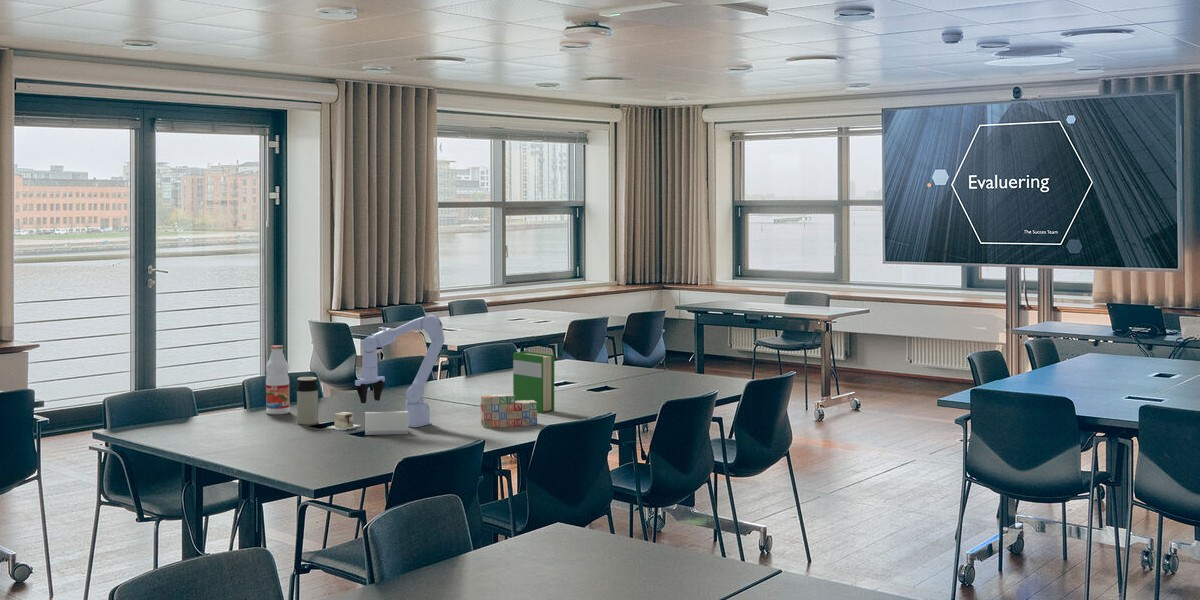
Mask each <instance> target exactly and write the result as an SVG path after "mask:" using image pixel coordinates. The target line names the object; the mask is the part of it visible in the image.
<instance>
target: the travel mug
mask: <svg viewBox="0 0 1200 600" xmlns="http://www.w3.org/2000/svg"><path fill="white" fill-rule="evenodd" d="M317 380H318V378H317V377H315V376H300V377H298V378H297V381H298V384H297V385H296V406H297V407H296V409H297V414H296V415H297V417H296V419H297V424H299V425H301V426H309V425H316V424H318V423H319V386H318V384H317Z"/></svg>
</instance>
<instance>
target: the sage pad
mask: <svg viewBox="0 0 1200 600" xmlns="http://www.w3.org/2000/svg"><path fill="white" fill-rule="evenodd" d="M356 427H357V428H361V427H362V426H361V424H355V423H353V426H350V427H345V428H341V427H335V426H334V425H331V426H330V425H329V426H327V427H326V429H328V430H333V429H335V431H340V430H341V432H342V431H346V430H347V429H348V430H352V429H356Z"/></svg>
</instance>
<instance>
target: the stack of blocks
mask: <svg viewBox="0 0 1200 600" xmlns="http://www.w3.org/2000/svg"><path fill="white" fill-rule="evenodd" d="M480 415H481V417H480V418H481V420H480V421H481V422H480V423H481V426H482V428H484V429H486V428H487V429H488V428H508V427H526V426H527V427H528V426H538V413H537V402H536V401H534V400H521V401H515V396H514V395H513V393H497V394H495V393H493V394H481V395H480Z"/></svg>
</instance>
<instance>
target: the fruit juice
mask: <svg viewBox="0 0 1200 600" xmlns="http://www.w3.org/2000/svg"><path fill="white" fill-rule="evenodd" d="M270 350H271V352H270V356H269V359H268V361H267V362H266V365H265V370H266V378H265V401H266V402H265V403H266V404H265V407H266V408H265V409H266V410H265V411H266V414H268V415H284V414H289V413H290V409H291V408H290V407H291V406H290V405H291V404H290V403H291V401H290V397H291V396H290V395H291V394H290V376H289V374H288V372H289V367H290V366H289V363H288V362H287V360H286V357H285V354H284V352H283V350H284V345H277V344H275V345H271V346H270Z"/></svg>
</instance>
